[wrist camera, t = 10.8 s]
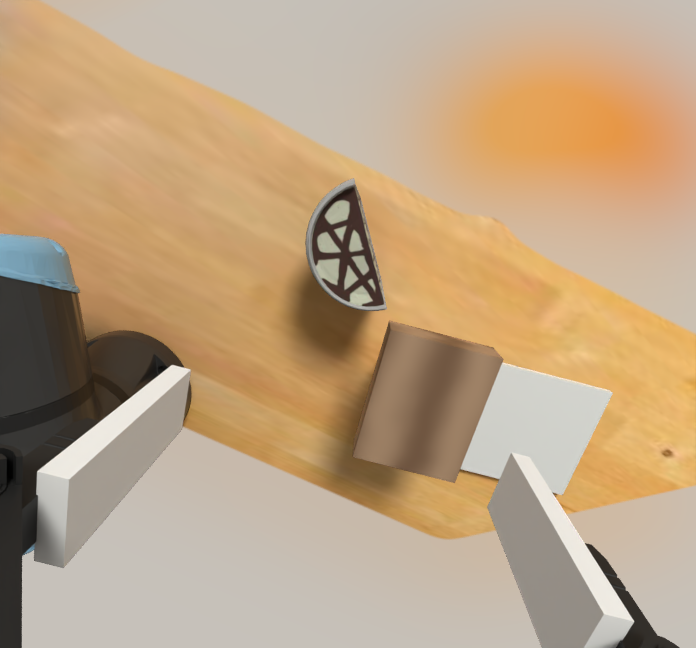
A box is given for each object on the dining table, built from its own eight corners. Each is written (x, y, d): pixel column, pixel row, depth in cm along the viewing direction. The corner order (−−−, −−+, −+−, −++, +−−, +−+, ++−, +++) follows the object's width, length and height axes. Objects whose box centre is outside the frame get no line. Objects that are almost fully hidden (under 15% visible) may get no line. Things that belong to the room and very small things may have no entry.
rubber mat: (442, 460, 52) (443, 464, 51) (481, 356, 48) (482, 359, 47) (559, 490, 52) (562, 495, 52) (608, 390, 48) (612, 393, 47)
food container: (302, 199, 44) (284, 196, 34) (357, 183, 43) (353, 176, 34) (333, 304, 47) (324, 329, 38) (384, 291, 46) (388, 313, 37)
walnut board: (354, 439, 41) (352, 457, 38) (389, 320, 37) (390, 329, 34) (448, 463, 41) (454, 483, 38) (493, 347, 37) (503, 359, 34)
